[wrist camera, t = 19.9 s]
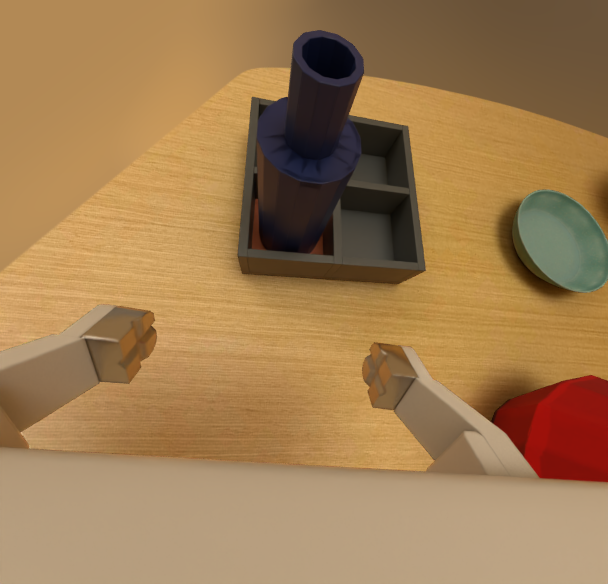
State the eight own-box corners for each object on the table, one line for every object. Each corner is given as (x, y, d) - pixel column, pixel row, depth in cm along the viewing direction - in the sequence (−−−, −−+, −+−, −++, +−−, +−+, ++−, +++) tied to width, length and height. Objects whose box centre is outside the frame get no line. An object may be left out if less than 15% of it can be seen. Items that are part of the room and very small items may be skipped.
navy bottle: (257, 258, 24) (249, 99, 9) (261, 204, 26) (259, -11, 10) (317, 262, 25) (403, 127, 10) (317, 210, 27) (391, 24, 11)
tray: (242, 273, 24) (237, 256, 20) (253, 136, 29) (251, 96, 24) (398, 284, 27) (426, 270, 23) (387, 158, 32) (408, 125, 27)
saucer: (599, 298, 32) (628, 294, 30) (511, 295, 30) (534, 290, 27) (569, 205, 36) (593, 194, 33) (488, 195, 33) (507, 183, 31)
